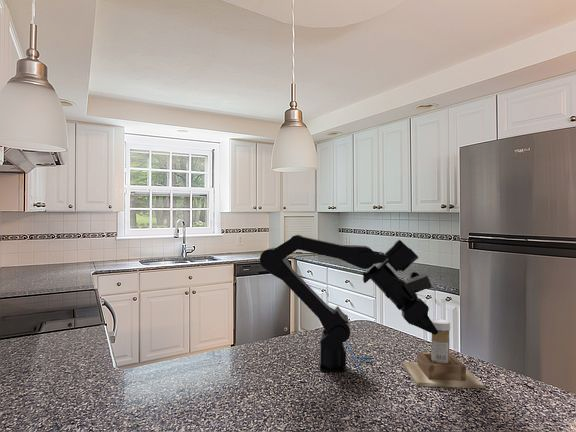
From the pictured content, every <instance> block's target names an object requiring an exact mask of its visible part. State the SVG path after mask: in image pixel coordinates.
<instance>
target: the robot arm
mask: <svg viewBox="0 0 576 432" xmlns="http://www.w3.org/2000/svg"><path fill="white" fill-rule="evenodd" d="M297 251H303V252H308V253H313V254H316V255H320V256H325V257H330V258H335V259H338V260H340V261H343V262H345V263H347V264H350V265H352V266H353V267H357V268H360V269H363V270H368V271H362V273H361V274H362V275H363V276H362V281H363V283H364V284H366V283H367V282H369V281H372V282H373V284H375V285H376V286H377V287H378V289H379V290H380V291H381V292H382V293H383V294H384V296H385V297H386V298H387V299H389V300H390V302H391V303H393V305H394V306H395V307H396V308H397V310H399V311H401V317H402V318H403V320H405V321H406V322H407V323H408V325H411V326H415V327H417V328H419V329H421V330H423V331H425V332H428V333H430V334H431V335H432V334H434V335H436V334H437V333H438V331H437V329H436V328H435V326H434V324H433V323H432V319H431V318H430V316H429V310H430V307H429V306H428V304H427V303H425V301H423V299H422V298H419V297H418V294H417V293H419V292H422V291H425V290H430V289H431V288H433V285H432V283H431V281H430V278H429V276H428V275H427V274H426V273H418V272H416V271H413V272H410V274H409V278H407V280H404V279H403V278H401V277H399V276H398V274H396V273H395V272H403V273H404V272H405V271H406V270H407V269H408V268H409V267H410V266H411V265H412V264H414V262H416V261H417V260H418V259H419V256H418V255H417V253H415V252H414V250H413V249H412V248H410V247H409V246H407V245H406V244H405V243H404V242H403V241H402V240H401V239H397V240H396V241H395V242H394V244H393V245H392V246H391V247H390V248H388V250H387V251H386V252H382V251H375V250H373V249H372V248H371V247H370V246H367V245H358V244H357V245H356V244H355V245H354V244H353V245H351V244H350V245H348V244H346V245H345V244H339V243H336V242H335V243H333V242H329V241H326V240H325V241H324V240H320V239H315V238H311V237H307V236H303V235H301V234H295V235H292V236H291V237H290V238H289V239H288V240H287V241H284V242H283V243H281V244H280V245H278V246H277V247H271V248H267V249H265V250H264V251H262V252H261V254H260V255H259V264H260V266H261V267H262V268H263V269H264V270H266V271H267V272H268V273H270V274H271V275H272V276H274V277H275V278H278V279H279V280H281V281H282V282H283V283H284V284H285V285H286V286H287V287H288V288H289V289H290V290H291V292H292V293H294V294H295V295H296V296H297V297H298V298H299V299H300V300H301V302H302V303H303V304H304V305H306V306H307V308H308V309H309V310H310V311H311V312H312V313H313V314H314V315H315V316H316V317H317V318H318V320H319V321H320V323H321V325H322V327H323V329H324V330H322V332H321V337H320V342H319V360H318V364H319V371H320V372H337V373H341V372H342V373H343V372H344V373H345V372H346V371H345V368H346V367H347V351H346V349H345V346H344V343H346V342H347V341H348V340H349V338H350V337H351V323H350V320H349V316H348V315H347V314H345V312H343V311H342V310H341V308H340V307H339V306H338V305H336V307H335V308H333V307H331V306H330V305H328V304H327V303H326V302H325V301H324V300H323V299H322V298H321V297H320V296H319V295H318V294H317V293H316V292H315V291H314V290H313V288H311V286H310V285H308V283H307V282H306V281H305V280H303V278H302V277H300V275H299V274H298V273H297V272H296V271H295V270H294V269H293V266H292V265H291V263H290V262H289V259H287V258H288V257H289V256H290V255H292V254H293V253H295V252H297ZM376 264H377V265H376ZM378 264H379V265H378ZM387 264H389V265H390V266H391V268H392V269H393V270H394V271H395V272H394V271H393V270H392V269H391V268H390V267H389V265H387ZM345 341H346V342H345Z"/></svg>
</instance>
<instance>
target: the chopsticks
mask: <svg viewBox="0 0 576 432" xmlns="http://www.w3.org/2000/svg"><path fill="white" fill-rule="evenodd" d="M344 343H345V344H346V346H347V347H348V349H349V352H350V354H351V355H352V358H353V360H354V361H355V363H356V366H357V367H358V369H359V371H360V373H361V374H362V373H363V371H362V369H361V367H360V365H359V364H358V362H357V358H356V357H355V356H354V354H353V352H352V350H351V348H350V346H349V344H348V342H347V341H345V342H344ZM359 359H360V360H366V361H367V360H374V358H373V357H371V356H362V357H359Z"/></svg>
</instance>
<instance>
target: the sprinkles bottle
mask: <svg viewBox="0 0 576 432" xmlns="http://www.w3.org/2000/svg"><path fill="white" fill-rule="evenodd" d="M431 321H432V323H433V324H434V326H435V328H436V329H437V331H438V333H437V334H436V335H434V334H432V333H431V346H430V347H431V350H430V351H431V352H430V353H431V359H432V364H449V361H450V353H451V352H450V350H451V349H450V331H451V322H450V321H448V320H445V319H441V318H433V319H431Z"/></svg>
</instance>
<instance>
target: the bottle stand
mask: <svg viewBox="0 0 576 432" xmlns="http://www.w3.org/2000/svg"><path fill="white" fill-rule="evenodd" d="M402 366H403V367H404V369H405V371H406V372H407V373H408V375H409V377H410V378H411V379H412V381H413V382H414V383H415V385H416V386H417V387H435V388H436V387H437V388H438V387H439V388H440V387H441V388H465V389H466V388H467V389H472V388H473V389H485V384H484V383H483V382H482V381H481V380H480V379H478V378H477V377H476V376H475V375H474V374H473V373H472V372H471V371H470V370H468V368H467V366H466V365H465V364H464V363H463V362H462V361H460V359H458V358H457V357H456V356H455V355H454V354H453V353H451V352H450V361H449V364H432V359H431V352H427V351H426V352H423V351H418V352H417V362H415V361H402Z"/></svg>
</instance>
